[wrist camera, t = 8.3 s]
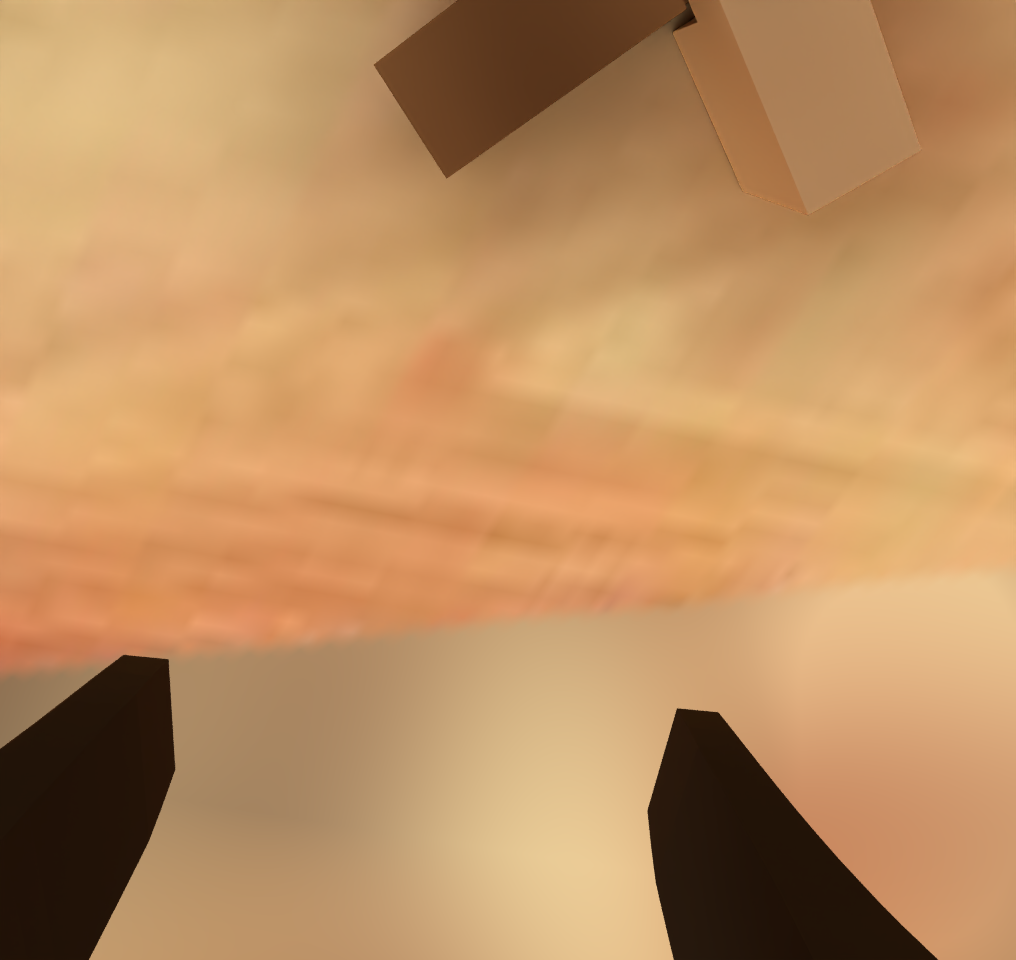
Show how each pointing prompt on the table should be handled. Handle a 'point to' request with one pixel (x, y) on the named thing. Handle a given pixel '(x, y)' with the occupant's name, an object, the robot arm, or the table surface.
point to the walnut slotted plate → (507, 65)
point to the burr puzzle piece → (798, 95)
